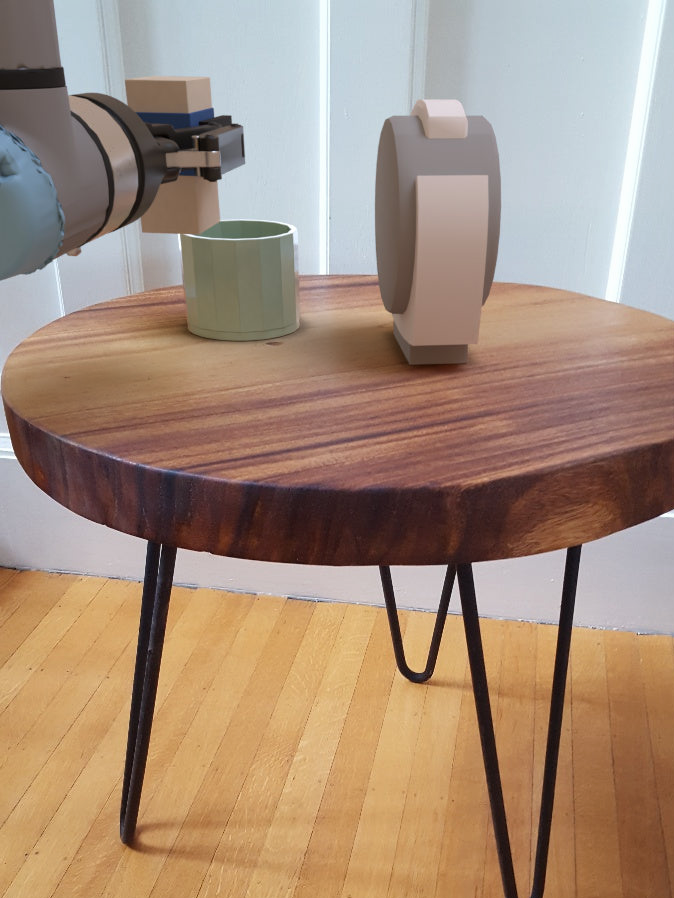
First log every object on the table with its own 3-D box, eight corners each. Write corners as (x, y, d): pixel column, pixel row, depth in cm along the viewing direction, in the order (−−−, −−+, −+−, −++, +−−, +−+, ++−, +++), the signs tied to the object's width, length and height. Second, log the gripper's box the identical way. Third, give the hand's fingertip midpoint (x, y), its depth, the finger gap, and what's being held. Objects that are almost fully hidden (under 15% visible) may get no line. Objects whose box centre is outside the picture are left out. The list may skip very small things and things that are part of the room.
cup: (173, 338, 92) (162, 237, 87) (205, 310, 101) (197, 217, 96) (287, 343, 91) (283, 241, 86) (308, 314, 100) (306, 221, 95)
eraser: (140, 232, 73) (122, 79, 67) (166, 219, 78) (151, 75, 72) (200, 235, 72) (187, 80, 67) (222, 221, 77) (211, 76, 72)
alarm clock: (493, 375, 83) (513, 106, 72) (396, 377, 82) (402, 106, 71) (453, 322, 98) (465, 93, 87) (371, 324, 97) (373, 93, 86)
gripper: (-45, 231, 60) (95, 183, 79) (230, 241, 58) (305, 189, 77) (-75, 92, 56) (81, 77, 75) (220, 98, 54) (302, 80, 73)
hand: (194, 134), depth 76 cm, fingers closed on eraser, 5 cm apart
